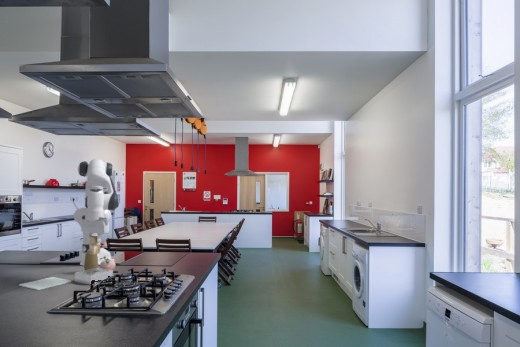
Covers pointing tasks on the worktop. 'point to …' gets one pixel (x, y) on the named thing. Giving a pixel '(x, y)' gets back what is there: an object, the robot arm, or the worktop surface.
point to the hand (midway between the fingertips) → (94, 240)
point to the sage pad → (45, 283)
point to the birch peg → (94, 245)
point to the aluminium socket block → (92, 275)
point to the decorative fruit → (107, 264)
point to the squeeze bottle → (90, 261)
